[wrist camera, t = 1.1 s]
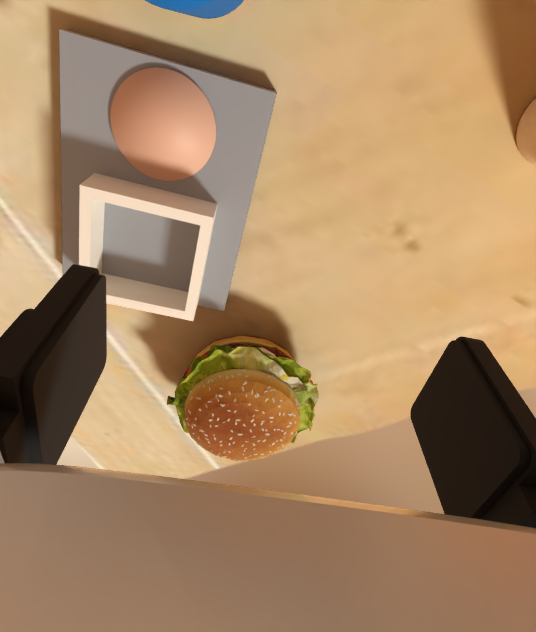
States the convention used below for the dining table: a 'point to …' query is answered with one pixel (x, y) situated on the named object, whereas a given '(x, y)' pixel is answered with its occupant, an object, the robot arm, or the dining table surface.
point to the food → (245, 398)
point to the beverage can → (199, 7)
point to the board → (156, 173)
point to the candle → (527, 133)
